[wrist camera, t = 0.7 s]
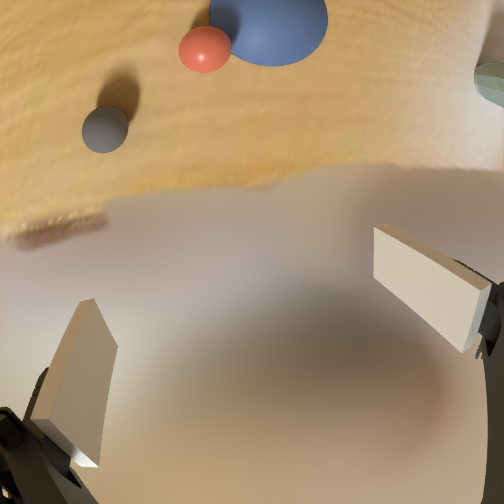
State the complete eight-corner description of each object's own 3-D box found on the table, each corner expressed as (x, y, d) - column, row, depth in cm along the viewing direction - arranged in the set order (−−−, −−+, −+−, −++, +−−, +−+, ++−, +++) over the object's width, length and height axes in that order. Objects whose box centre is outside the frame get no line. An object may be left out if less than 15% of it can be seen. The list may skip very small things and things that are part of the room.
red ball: (211, 21, 25) (213, 12, 21) (238, 56, 28) (244, 52, 24) (171, 48, 26) (165, 43, 22) (199, 82, 29) (197, 82, 25)
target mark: (286, -48, 20) (286, -48, 20) (346, 37, 28) (347, 37, 27) (185, 0, 23) (185, 0, 23) (253, 87, 31) (253, 87, 30)
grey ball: (114, 94, 28) (99, 98, 24) (141, 126, 31) (131, 135, 27) (83, 125, 29) (65, 134, 25) (110, 155, 32) (96, 169, 28)
